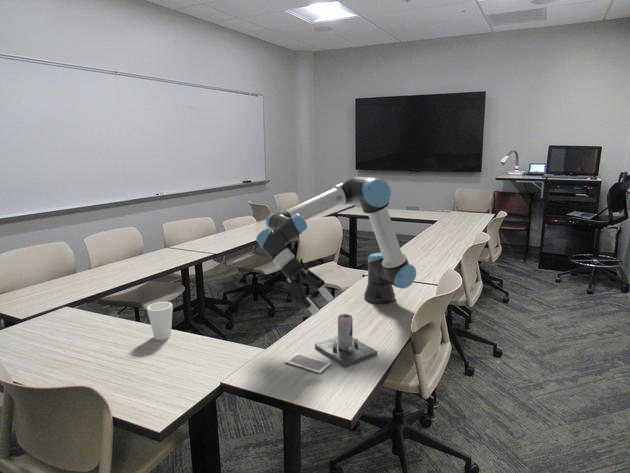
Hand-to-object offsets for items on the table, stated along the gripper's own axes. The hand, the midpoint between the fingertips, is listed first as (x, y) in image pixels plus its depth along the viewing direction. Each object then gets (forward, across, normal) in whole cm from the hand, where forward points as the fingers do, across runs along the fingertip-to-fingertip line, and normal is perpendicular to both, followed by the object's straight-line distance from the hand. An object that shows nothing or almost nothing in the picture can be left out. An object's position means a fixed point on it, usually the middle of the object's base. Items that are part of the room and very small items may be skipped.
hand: (324, 306), depth 154 cm
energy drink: (+16, 0, -5) cm, 17 cm away
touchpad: (+12, +14, -12) cm, 22 cm away
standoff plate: (+17, 0, -6) cm, 18 cm away
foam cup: (-33, +18, -57) cm, 68 cm away
